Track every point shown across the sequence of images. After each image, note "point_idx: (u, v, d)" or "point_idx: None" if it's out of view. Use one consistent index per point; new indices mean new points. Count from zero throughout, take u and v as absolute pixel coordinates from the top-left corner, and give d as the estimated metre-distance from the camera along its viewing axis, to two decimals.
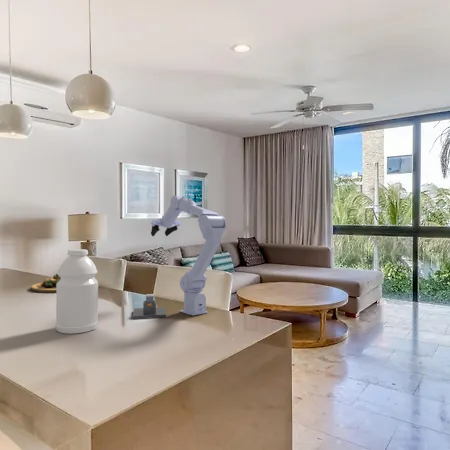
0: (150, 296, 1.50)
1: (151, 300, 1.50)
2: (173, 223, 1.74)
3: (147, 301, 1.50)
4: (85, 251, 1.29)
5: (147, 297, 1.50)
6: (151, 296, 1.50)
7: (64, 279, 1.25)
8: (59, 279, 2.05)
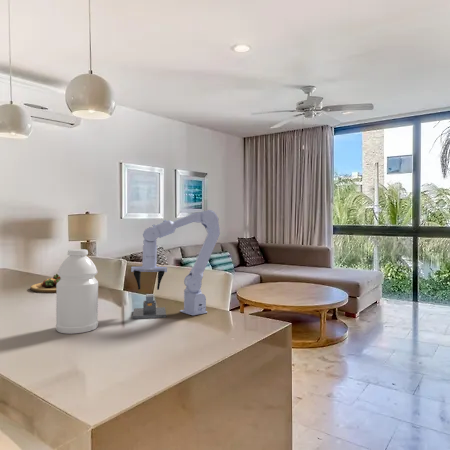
0: (150, 296, 1.50)
1: (151, 300, 1.50)
2: None
3: (147, 301, 1.50)
4: (85, 251, 1.29)
5: (147, 297, 1.50)
6: (151, 296, 1.50)
7: (64, 279, 1.25)
8: (59, 279, 2.05)
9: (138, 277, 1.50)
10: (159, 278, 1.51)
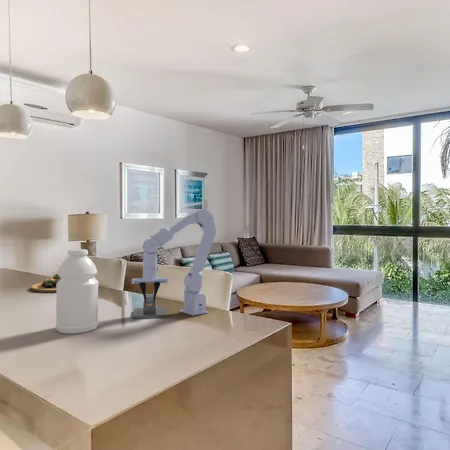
0: (150, 296, 1.50)
1: (151, 300, 1.50)
2: None
3: (147, 301, 1.50)
4: (85, 251, 1.29)
5: (147, 297, 1.50)
6: (151, 296, 1.50)
7: (64, 279, 1.25)
8: (59, 279, 2.05)
9: (144, 289, 1.49)
10: (155, 289, 1.50)
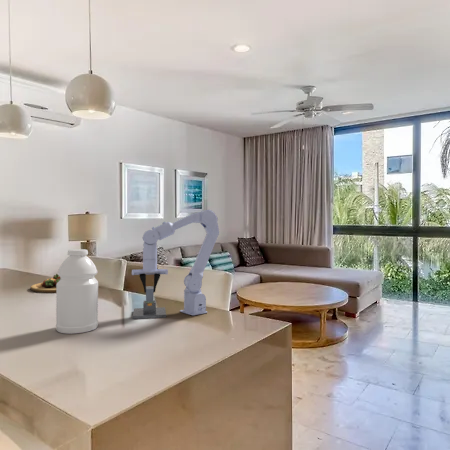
0: (150, 288, 1.50)
1: (151, 292, 1.50)
2: None
3: (147, 293, 1.50)
4: (85, 251, 1.29)
5: (147, 289, 1.50)
6: (151, 288, 1.50)
7: (64, 279, 1.25)
8: (59, 279, 2.05)
9: (144, 280, 1.49)
10: (155, 281, 1.50)
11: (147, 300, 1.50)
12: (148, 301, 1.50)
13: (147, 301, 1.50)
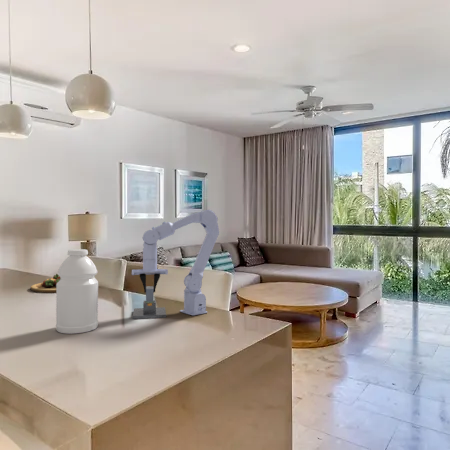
0: (150, 288, 1.50)
1: (151, 292, 1.50)
2: None
3: (147, 293, 1.50)
4: (85, 251, 1.29)
5: (147, 289, 1.50)
6: (151, 288, 1.50)
7: (64, 279, 1.25)
8: (59, 279, 2.05)
9: (144, 280, 1.49)
10: (155, 281, 1.50)
11: (147, 300, 1.50)
12: (148, 301, 1.50)
13: (147, 301, 1.50)
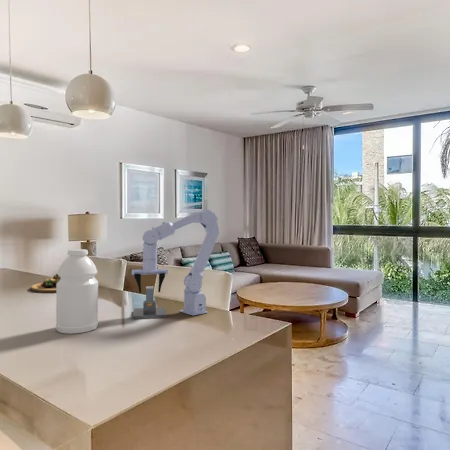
0: (150, 288, 1.50)
1: (151, 292, 1.50)
2: None
3: (147, 293, 1.50)
4: (85, 251, 1.29)
5: (147, 289, 1.50)
6: (151, 288, 1.50)
7: (64, 279, 1.25)
8: (59, 279, 2.05)
9: (139, 280, 1.49)
10: (160, 280, 1.50)
11: (147, 300, 1.50)
12: (148, 301, 1.50)
13: (147, 301, 1.50)
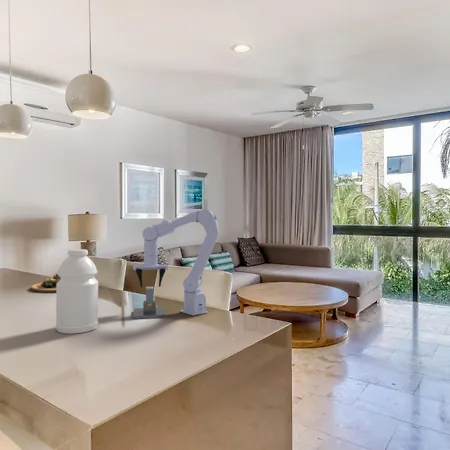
0: (150, 288, 1.50)
1: (151, 292, 1.50)
2: None
3: (147, 293, 1.50)
4: (85, 251, 1.29)
5: (147, 289, 1.50)
6: (151, 288, 1.50)
7: (64, 279, 1.25)
8: (59, 279, 2.05)
9: (140, 275, 1.55)
10: (161, 275, 1.57)
11: (147, 300, 1.50)
12: (148, 301, 1.50)
13: (147, 301, 1.50)
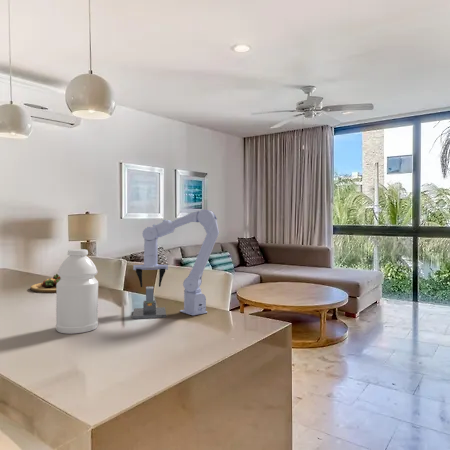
0: (150, 288, 1.50)
1: (151, 292, 1.50)
2: None
3: (147, 293, 1.50)
4: (85, 251, 1.29)
5: (147, 289, 1.50)
6: (151, 288, 1.50)
7: (64, 279, 1.25)
8: (59, 279, 2.05)
9: (140, 275, 1.55)
10: (161, 275, 1.57)
11: (147, 300, 1.50)
12: (148, 301, 1.50)
13: (147, 301, 1.50)
